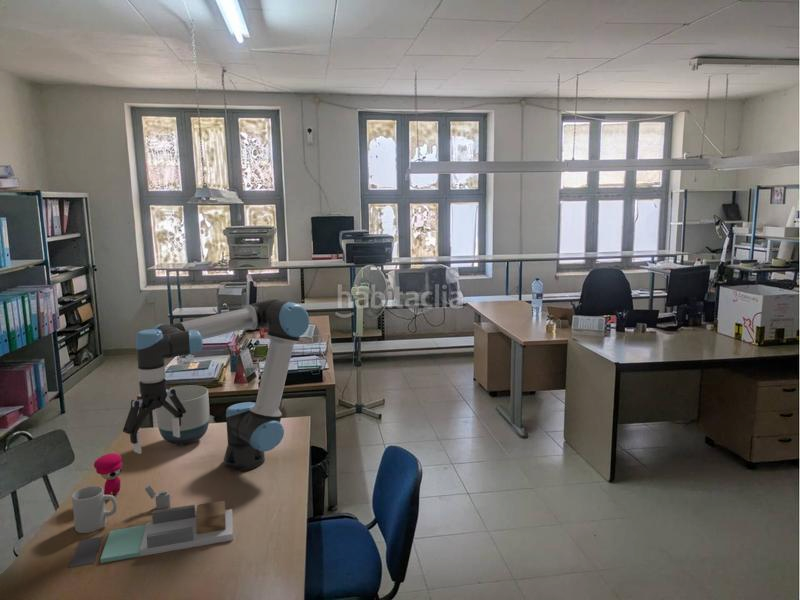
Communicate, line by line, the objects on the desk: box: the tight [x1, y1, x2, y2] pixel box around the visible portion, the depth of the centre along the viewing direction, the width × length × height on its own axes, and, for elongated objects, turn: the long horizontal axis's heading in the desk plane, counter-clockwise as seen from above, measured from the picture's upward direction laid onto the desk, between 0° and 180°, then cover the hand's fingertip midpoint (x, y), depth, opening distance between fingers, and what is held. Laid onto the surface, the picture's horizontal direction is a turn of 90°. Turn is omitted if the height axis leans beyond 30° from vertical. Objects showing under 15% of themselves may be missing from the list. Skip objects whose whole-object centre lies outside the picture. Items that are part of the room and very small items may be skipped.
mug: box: [71, 485, 118, 534], centre depth 168 cm, size 12×8×11 cm
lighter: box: [144, 484, 171, 510], centre depth 178 cm, size 7×2×8 cm, turn 106°
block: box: [195, 500, 226, 534], centre depth 165 cm, size 8×8×5 cm
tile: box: [100, 524, 146, 564], centre depth 158 cm, size 10×14×1 cm
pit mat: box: [67, 536, 104, 569], centre depth 155 cm, size 6×13×1 cm, turn 18°
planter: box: [155, 384, 210, 446], centre depth 226 cm, size 20×20×21 cm
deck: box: [139, 504, 234, 557], centre depth 163 cm, size 25×14×6 cm, turn 108°
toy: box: [93, 452, 123, 496], centre depth 183 cm, size 8×8×15 cm
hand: (157, 444), depth 172 cm, fingers open, 13 cm apart
